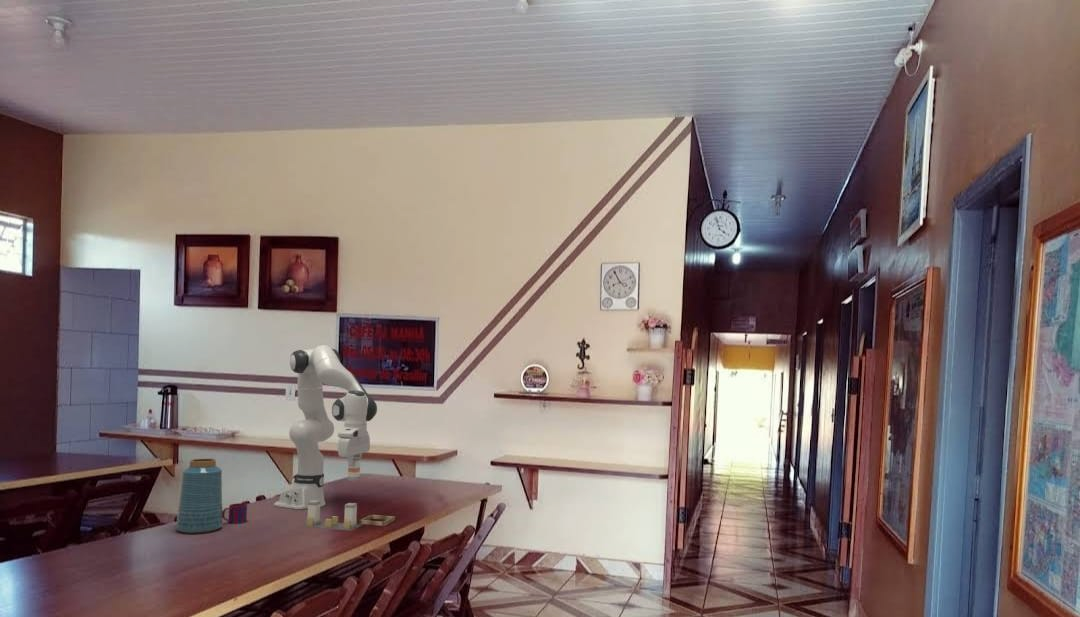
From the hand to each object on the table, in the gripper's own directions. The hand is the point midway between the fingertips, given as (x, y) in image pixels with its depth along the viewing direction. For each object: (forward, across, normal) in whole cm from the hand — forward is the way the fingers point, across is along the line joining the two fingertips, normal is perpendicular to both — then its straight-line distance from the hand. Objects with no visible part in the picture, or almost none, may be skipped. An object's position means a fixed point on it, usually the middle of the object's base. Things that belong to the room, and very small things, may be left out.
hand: (354, 465), depth 293 cm
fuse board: (+24, +5, -6) cm, 26 cm away
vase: (+24, +23, -53) cm, 63 cm away
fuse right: (+23, +5, +2) cm, 24 cm away
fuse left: (+23, +5, -14) cm, 28 cm away
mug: (+24, +9, -48) cm, 55 cm away
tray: (+24, -7, +8) cm, 27 cm away
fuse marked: (+6, 0, 0) cm, 6 cm away
